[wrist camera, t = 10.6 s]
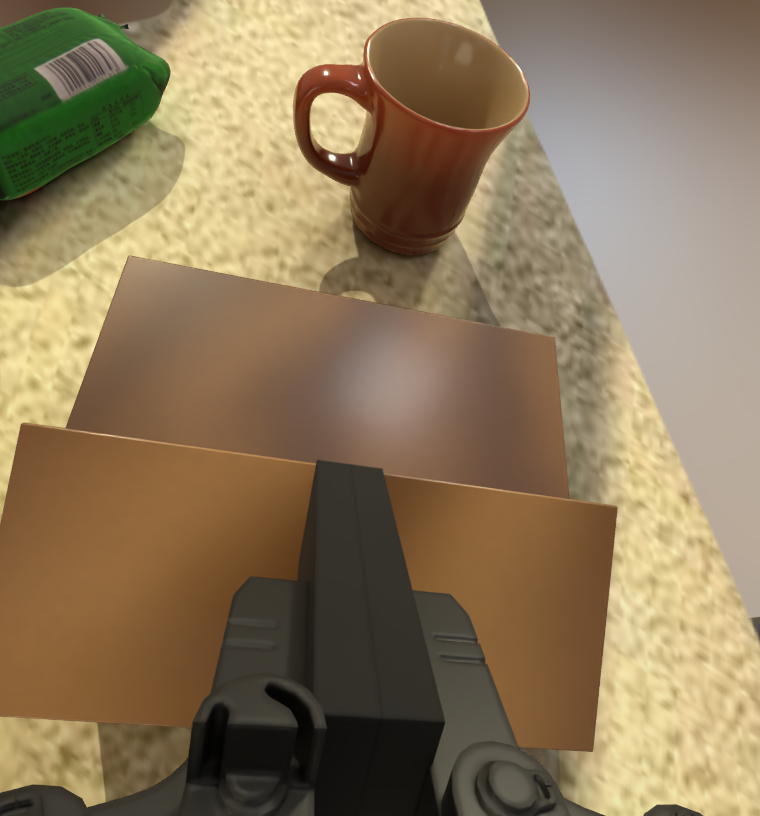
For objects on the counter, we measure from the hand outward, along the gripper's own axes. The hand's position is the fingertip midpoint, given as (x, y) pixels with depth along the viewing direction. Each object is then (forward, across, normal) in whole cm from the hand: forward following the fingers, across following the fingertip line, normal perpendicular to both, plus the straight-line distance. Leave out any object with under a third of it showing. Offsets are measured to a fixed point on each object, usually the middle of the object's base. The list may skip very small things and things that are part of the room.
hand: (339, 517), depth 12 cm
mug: (+27, +2, +7) cm, 28 cm away
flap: (0, 0, -2) cm, 2 cm away
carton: (+11, 0, -8) cm, 14 cm away
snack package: (+28, -18, +8) cm, 34 cm away
